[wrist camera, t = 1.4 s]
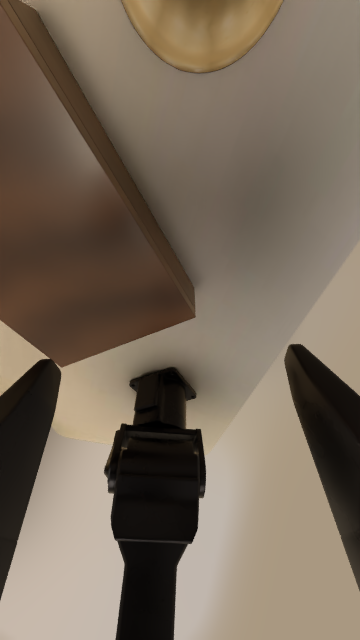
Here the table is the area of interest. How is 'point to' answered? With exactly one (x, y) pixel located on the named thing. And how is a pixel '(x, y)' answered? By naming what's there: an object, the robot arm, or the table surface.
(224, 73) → the table surface
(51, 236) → the shelf
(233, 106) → the table surface
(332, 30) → the table surface
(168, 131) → the table surface
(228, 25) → the hand bell
